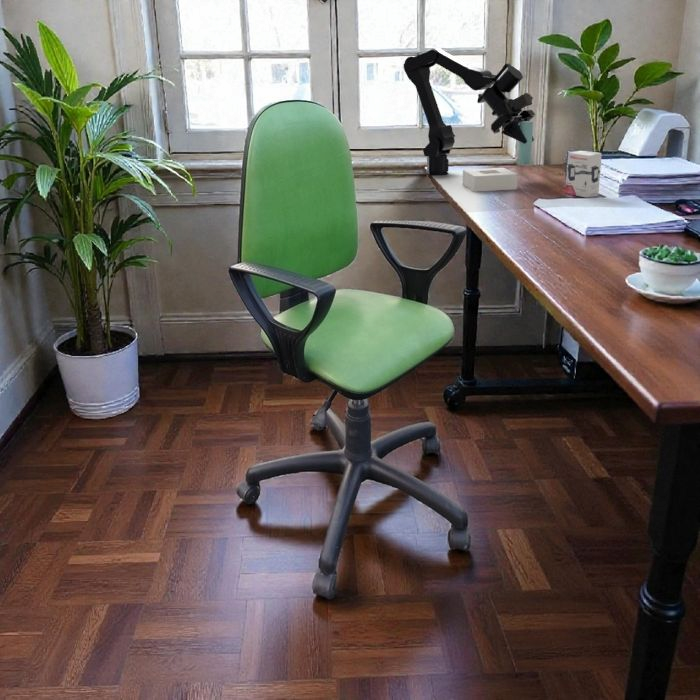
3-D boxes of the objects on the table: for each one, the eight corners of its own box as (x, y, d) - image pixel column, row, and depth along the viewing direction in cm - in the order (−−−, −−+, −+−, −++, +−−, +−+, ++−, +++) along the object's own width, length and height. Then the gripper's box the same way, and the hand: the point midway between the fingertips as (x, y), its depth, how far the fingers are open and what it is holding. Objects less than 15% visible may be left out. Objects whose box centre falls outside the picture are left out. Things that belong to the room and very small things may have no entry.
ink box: (564, 193, 219) (567, 151, 214) (576, 191, 221) (579, 150, 217) (586, 197, 212) (590, 154, 207) (599, 195, 214) (603, 152, 210)
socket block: (474, 191, 226) (474, 176, 224) (462, 184, 238) (462, 169, 236) (516, 189, 227) (517, 174, 226) (502, 182, 239) (503, 167, 237)
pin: (520, 164, 235) (522, 122, 231) (515, 162, 239) (517, 121, 234) (532, 164, 236) (535, 122, 231) (528, 162, 239) (530, 121, 235)
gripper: (501, 86, 224) (533, 126, 222) (531, 82, 238) (561, 120, 235) (477, 113, 232) (507, 152, 230) (507, 108, 245) (536, 145, 243)
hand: (529, 141), depth 234 cm, fingers closed on pin, 4 cm apart
